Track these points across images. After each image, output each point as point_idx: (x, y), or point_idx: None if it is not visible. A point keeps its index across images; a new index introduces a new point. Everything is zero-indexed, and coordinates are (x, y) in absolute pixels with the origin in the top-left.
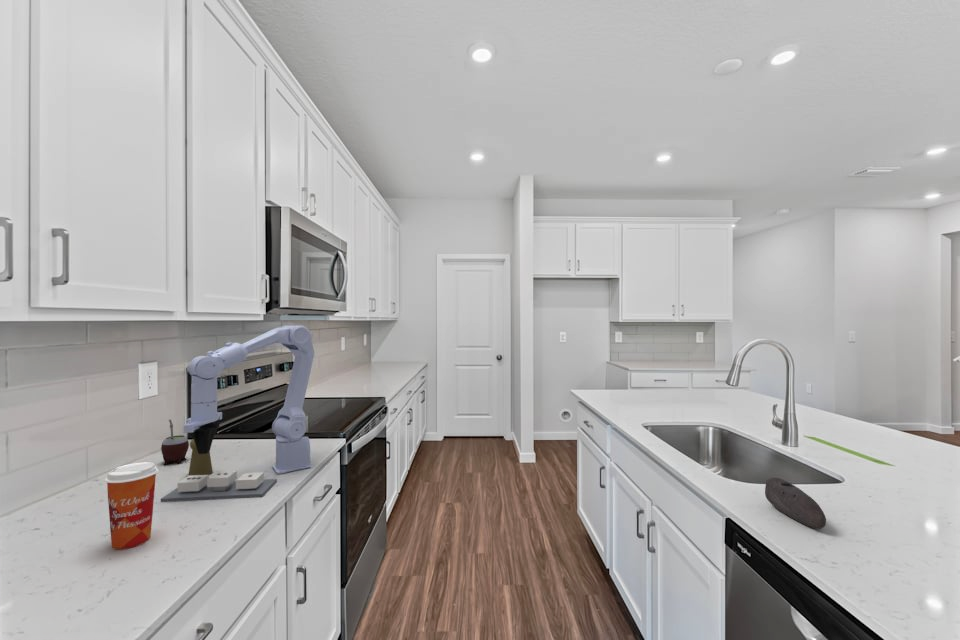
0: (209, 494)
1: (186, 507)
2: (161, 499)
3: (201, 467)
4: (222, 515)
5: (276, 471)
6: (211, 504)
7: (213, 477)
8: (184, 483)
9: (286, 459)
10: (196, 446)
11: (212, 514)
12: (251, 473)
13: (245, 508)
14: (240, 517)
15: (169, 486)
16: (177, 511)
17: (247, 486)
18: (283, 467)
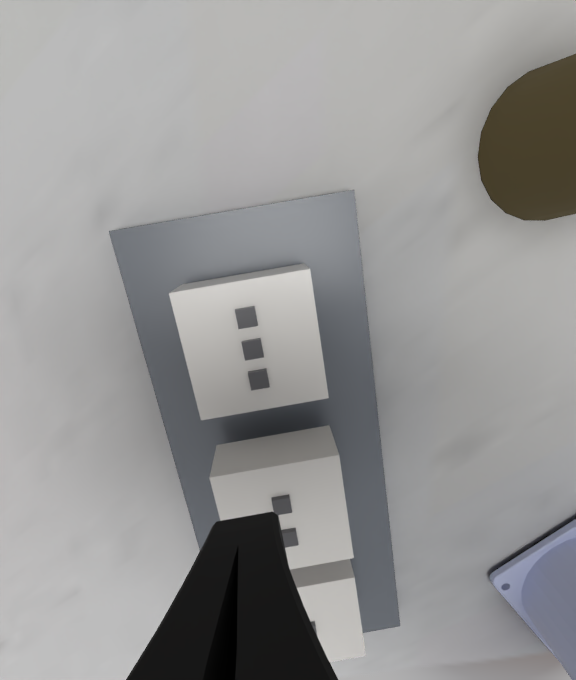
0: (198, 457)
1: (85, 418)
2: (112, 236)
3: (540, 182)
4: (48, 605)
5: (510, 569)
6: (134, 503)
7: (228, 504)
8: (181, 334)
9: (563, 659)
10: (171, 607)
11: (47, 567)
12: (349, 611)
13: (122, 643)
14: (49, 668)
15: (344, 84)
16: (37, 409)
17: None
18: (531, 604)
